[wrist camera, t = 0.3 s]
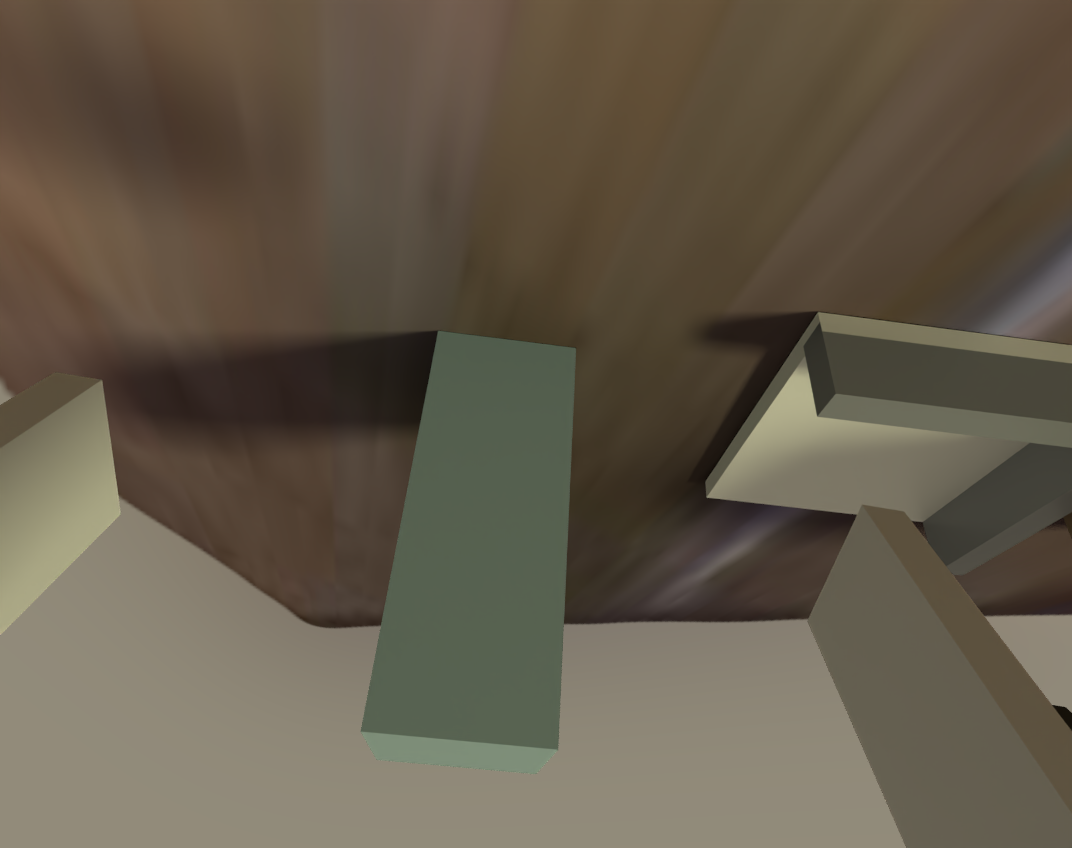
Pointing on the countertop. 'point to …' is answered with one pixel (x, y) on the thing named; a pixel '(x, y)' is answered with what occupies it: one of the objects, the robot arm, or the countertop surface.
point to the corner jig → (913, 433)
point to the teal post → (480, 564)
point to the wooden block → (1069, 522)
